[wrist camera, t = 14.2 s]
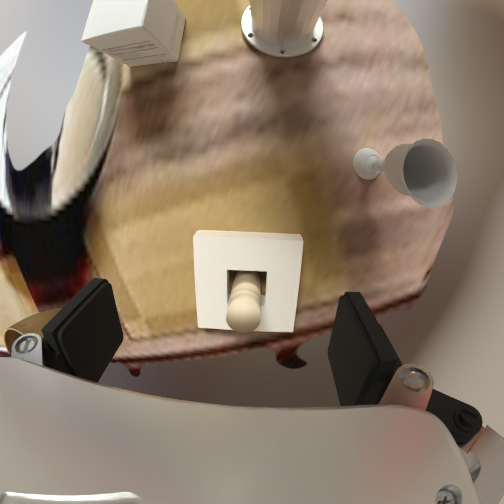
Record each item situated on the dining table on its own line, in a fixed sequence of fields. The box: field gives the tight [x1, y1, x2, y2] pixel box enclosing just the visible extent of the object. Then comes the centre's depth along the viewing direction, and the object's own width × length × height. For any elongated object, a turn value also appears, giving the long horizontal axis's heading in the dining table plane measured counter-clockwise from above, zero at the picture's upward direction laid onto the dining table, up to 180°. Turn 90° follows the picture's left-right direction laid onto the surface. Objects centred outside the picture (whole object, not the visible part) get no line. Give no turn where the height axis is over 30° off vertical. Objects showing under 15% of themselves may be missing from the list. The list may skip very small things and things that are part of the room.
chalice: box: [353, 139, 457, 208], centre depth 30 cm, size 7×7×18 cm
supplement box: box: [81, 0, 186, 67], centre depth 25 cm, size 9×9×15 cm
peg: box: [226, 270, 261, 333], centre depth 40 cm, size 4×4×12 cm
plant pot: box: [4, 308, 62, 354], centre depth 44 cm, size 15×15×16 cm
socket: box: [193, 230, 304, 332], centre depth 44 cm, size 16×16×4 cm
